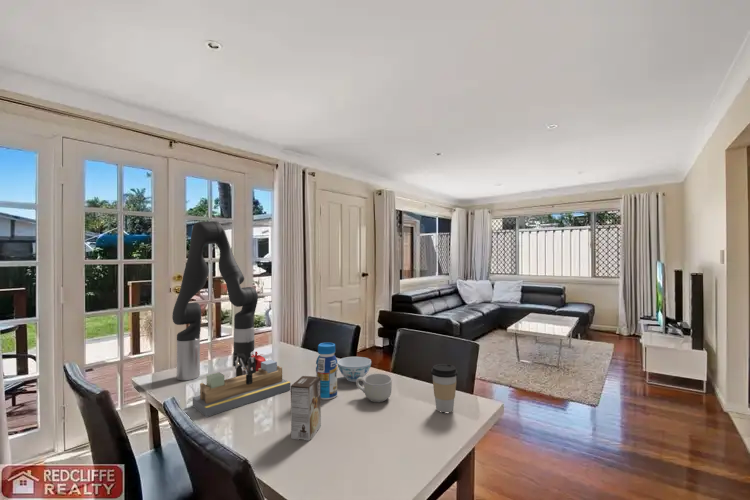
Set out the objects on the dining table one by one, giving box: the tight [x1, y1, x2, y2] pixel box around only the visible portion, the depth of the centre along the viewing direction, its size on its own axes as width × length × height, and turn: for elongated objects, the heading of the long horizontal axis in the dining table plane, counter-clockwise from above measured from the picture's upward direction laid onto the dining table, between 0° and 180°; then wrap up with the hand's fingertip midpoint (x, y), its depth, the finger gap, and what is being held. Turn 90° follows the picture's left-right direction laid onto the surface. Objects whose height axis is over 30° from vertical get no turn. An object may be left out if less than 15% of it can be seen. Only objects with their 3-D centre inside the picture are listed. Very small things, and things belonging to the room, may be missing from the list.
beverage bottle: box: [315, 342, 339, 401], centre depth 139 cm, size 8×8×20 cm
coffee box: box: [290, 375, 322, 441], centre depth 110 cm, size 9×6×16 cm
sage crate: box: [206, 372, 225, 388], centre depth 130 cm, size 5×5×4 cm
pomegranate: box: [251, 351, 267, 372], centre depth 169 cm, size 10×10×9 cm
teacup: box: [355, 373, 393, 403], centre depth 136 cm, size 14×11×8 cm
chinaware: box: [336, 356, 372, 383], centre depth 157 cm, size 15×15×8 cm
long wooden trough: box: [199, 365, 283, 404], centre depth 138 cm, size 6×30×6 cm, turn 136°
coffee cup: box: [430, 363, 459, 413], centre depth 126 cm, size 9×9×15 cm
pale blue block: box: [261, 359, 278, 373], centre depth 145 cm, size 5×5×4 cm
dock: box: [192, 378, 291, 418], centre depth 138 cm, size 13×33×3 cm, turn 136°
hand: (244, 381), depth 138 cm, fingers open, 8 cm apart
